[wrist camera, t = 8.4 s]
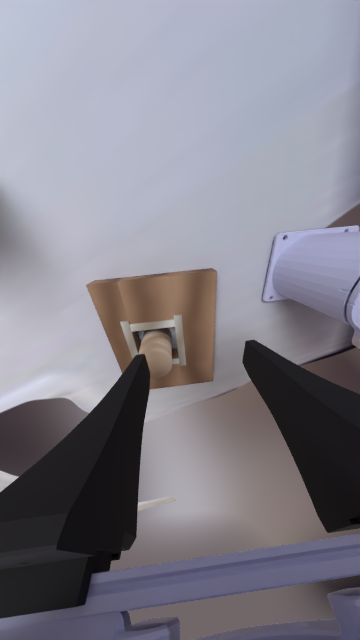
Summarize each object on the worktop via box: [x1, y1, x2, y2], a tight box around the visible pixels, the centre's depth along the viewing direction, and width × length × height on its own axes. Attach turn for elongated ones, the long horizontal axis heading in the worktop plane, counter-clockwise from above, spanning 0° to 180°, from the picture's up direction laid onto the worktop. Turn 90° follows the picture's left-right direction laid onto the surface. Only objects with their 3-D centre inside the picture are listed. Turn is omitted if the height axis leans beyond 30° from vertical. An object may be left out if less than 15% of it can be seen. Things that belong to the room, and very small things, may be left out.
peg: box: [139, 328, 172, 378], centre depth 18 cm, size 4×4×6 cm
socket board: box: [86, 268, 217, 389], centre depth 20 cm, size 14×18×2 cm
